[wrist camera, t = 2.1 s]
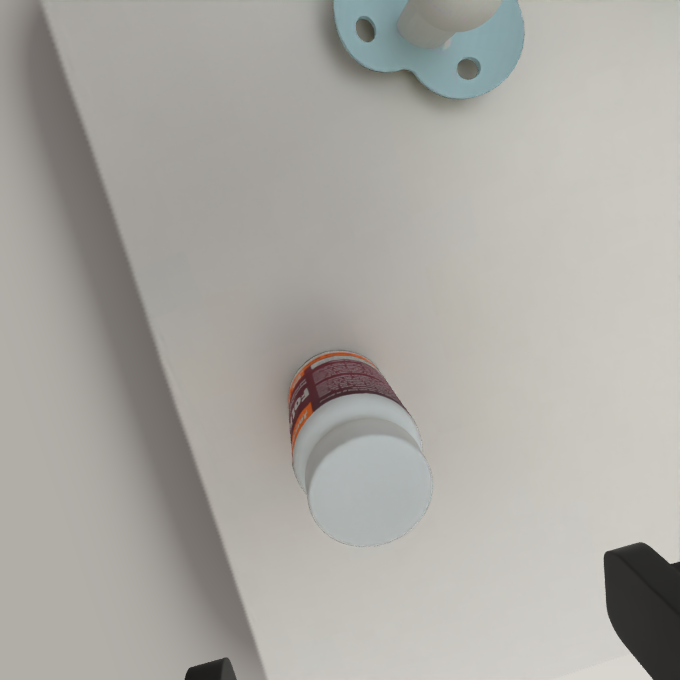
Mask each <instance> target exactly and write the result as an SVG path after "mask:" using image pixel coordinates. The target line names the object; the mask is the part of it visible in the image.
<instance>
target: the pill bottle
mask: <svg viewBox="0 0 680 680" xmlns="http://www.w3.org/2000/svg"><path fill="white" fill-rule="evenodd" d="M288 404H289V422H290V434H291V445H292V457H293V469H294V472H295V475H296V478H297V480H298V482H299V484H300V486H301V488H302V489H303V491H304V492H305V493H306V495H307V498H308V504H309V508H310V511H311V514H312V516H313V518H314V520H315V522H316V523H317V525H318V526H319V527H320V528H321V529H322V531H323V532H324V533H326V534H327V535H328V536H330V537H331V538H333V539H334V540H336V541H339V542H341V543H344V544H347V545H351V546H358V547H370V546H378V545H382V544H386V543H389V542H391V541H393V540H395V539H397V538H399V537H401V536H403V535H404V534H406V533H407V532H409V531H410V530H411V529H412V528H413V527H414V526H415V525H416V524H417V523H418V522H419V521H420V520H421V518H422V517H423V515H424V514H425V512H426V510H427V508H428V505H429V503H430V500H431V496H432V489H433V480H432V474H431V470H430V467H429V464H428V462H427V460H426V458H425V457H424V455H423V448H422V440H421V436H420V433H419V430H418V427H417V425H416V423H415V421H414V420H413V418H412V417H411V415H410V414H409V413H408V411H407V410H406V408H405V407H404V406H403V404H402V403H401V401H400V400H399V399H398V397H397V396H396V394H395V393H394V391H393V390H392V389H391V387H390V386H389V384H388V382H387V381H386V379H385V378H384V376H383V375H382V374H381V373H380V371H379V370H378V368H377V367H376V366H375V365H374V364H373V363H372V362H371V361H369V360H368V359H366V358H365V357H363V356H361V355H359V354H356V353H353V352H349V351H330V352H325V353H322V354H319V355H317V356H315V357H313V358H311V359H310V360H309V361H307V362H306V363H305V364H304V365H303V366H302V367H301V368H300V369H299V370H298V372H297V373H296V375H295V376H294V378H293V380H292V383H291V385H290V389H289V395H288Z"/></svg>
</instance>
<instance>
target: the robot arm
mask: <svg viewBox="0 0 680 680" xmlns="http://www.w3.org/2000/svg"><path fill="white" fill-rule="evenodd" d="M604 572H605V589H606V605H607V612H608V615H609V618H610V621H611V623H612V626H613V628H614V630H615V631H616V633H617V635H618V636H619V638H620V639H621V641H622V642H623V643H624V645H625V646H626V647H627V648H628V649H629V651H630V652H631V653H632V654H633V656H634V657H635V658H636V659H637V660H638V662H640V664H641V665H642V666H643V668H644V669H645V670H646V671H647V672H648V674H649V675H650V676H651V677H652V679H653V680H680V562H677V563H673V564H669V563H668V562H667V561H666V560H665V559H664V558H663V557H661V556H660V555H659V554H658V553H657V552H656V551H654V550H653V549H652V548H651V547H650V546H648V545H647V544H645V543H641V542H639V543H635V544H632V545H628V546H625V547H621V548H618V549H614V550H611V551H607V552H606V553H605V554H604ZM185 680H237V679H236V676H235V673H234V671H233V667H232V665H231V662H230V660H229V659H228V658H223V659H219V660H215V661H212V662H208V663H205V664H201V665H198V666H194V667H191V668H189V669H188V671H187V673H186V677H185Z"/></svg>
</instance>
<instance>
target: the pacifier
mask: <svg viewBox="0 0 680 680" xmlns="http://www.w3.org/2000/svg"><path fill="white" fill-rule="evenodd" d="M333 16H334V21H335V25H336V30H337V33H338V35H339V38H340V40H341V42H342V44H343V46H344V48H345V49H346V50H347V52H348V53H349V54H350V56H351V57H352V58H353V59H354V60H355V61H356V62H358V63H359V64H360V65H362V66H363V67H365V68H368V69H370V70H372V71H377V72H395V71H399V70H403V69H404V70H408V71H411V72H412V73H413V74H414V75H415V76H416V77H417V79H418V80H419V81H420V82H421V83H422V84H423V85H424V86H425V87H426V88H428V89H429V90H430V91H432V92H434V93H436V94H438V95H440V96H443V97H446V98H450V99H468V98H473V97H476V96H479V95H482V94H485V93H487V92H489V91H491V90H492V89H494V88H495V87H497V86H498V85H500V84H501V83H502V82H503V81H504V80H505V79H506V78H507V77H508V76H509V74H510V73H511V72H512V70H513V69H514V68H515V66H516V64H517V62H518V60H519V58H520V55H521V51H522V48H523V43H524V21H523V18H522V15H521V9H520V7H519V4H518V1H517V0H333ZM360 19H365V20H368V21H369V22H370V23H371V25H372V26H373V28H374V33H375V35H374V39H373V41H371V42H364V41H362V40H361V39H360V38H359V36H358V35H357V32H356V22H357V21H358V20H360ZM464 59H469V60H472V61H473V62H475V63H476V65H477V68H478V73H477V75H476V77H475V78H474V79H470V80H466V79H463V78H461V77H460V76H459V74H458V72H457V65H458V63H459V62H460V61H461V60H464Z"/></svg>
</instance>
